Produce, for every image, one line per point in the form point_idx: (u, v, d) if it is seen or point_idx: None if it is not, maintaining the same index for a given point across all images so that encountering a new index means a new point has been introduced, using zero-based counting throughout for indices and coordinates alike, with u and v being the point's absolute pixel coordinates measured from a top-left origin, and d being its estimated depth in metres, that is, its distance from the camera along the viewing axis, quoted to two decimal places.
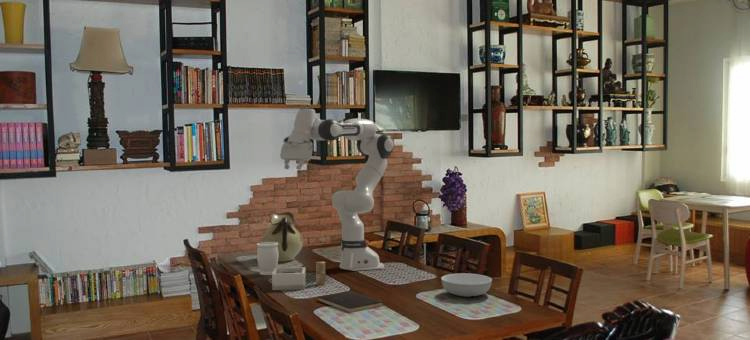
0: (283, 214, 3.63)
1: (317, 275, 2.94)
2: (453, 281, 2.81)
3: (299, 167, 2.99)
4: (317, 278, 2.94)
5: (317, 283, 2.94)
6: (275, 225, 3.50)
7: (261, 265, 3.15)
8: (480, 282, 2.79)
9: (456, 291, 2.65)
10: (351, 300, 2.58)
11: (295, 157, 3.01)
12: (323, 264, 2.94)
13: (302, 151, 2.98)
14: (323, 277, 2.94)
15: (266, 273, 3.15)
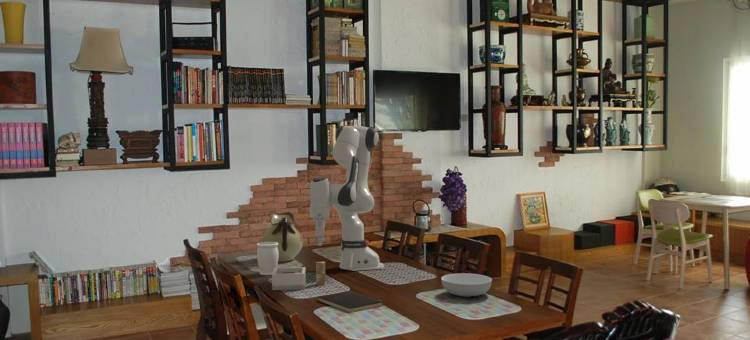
0: (283, 214, 3.63)
1: (317, 275, 2.94)
2: (453, 281, 2.81)
3: (319, 243, 2.89)
4: (317, 278, 2.94)
5: (317, 283, 2.94)
6: (275, 225, 3.50)
7: (261, 265, 3.15)
8: (480, 282, 2.79)
9: (456, 291, 2.65)
10: (351, 300, 2.58)
11: None
12: (323, 264, 2.94)
13: None
14: (323, 277, 2.94)
15: (266, 273, 3.15)
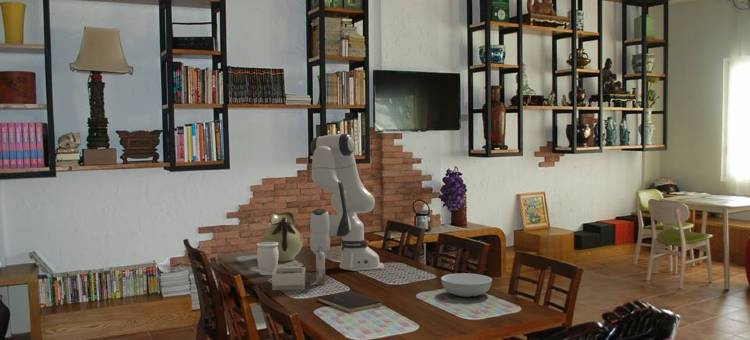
0: (283, 214, 3.63)
1: (317, 275, 2.94)
2: (453, 281, 2.81)
3: (320, 275, 2.93)
4: (317, 278, 2.94)
5: (317, 283, 2.94)
6: (275, 225, 3.50)
7: (261, 265, 3.15)
8: (480, 282, 2.79)
9: (456, 291, 2.65)
10: (351, 300, 2.58)
11: None
12: None
13: None
14: (323, 277, 2.94)
15: (266, 273, 3.15)
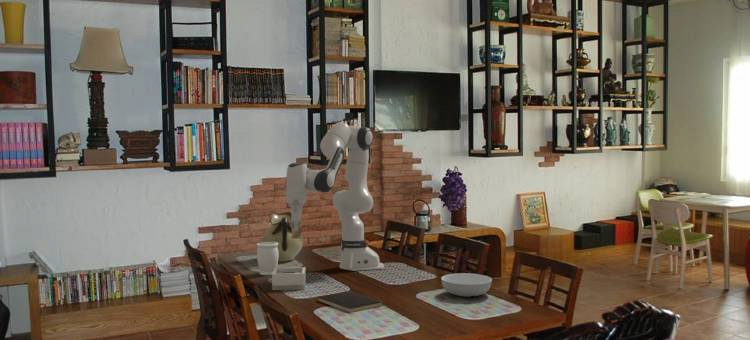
0: (283, 214, 3.63)
1: (293, 228, 2.90)
2: (453, 281, 2.81)
3: (295, 228, 2.89)
4: (293, 232, 2.90)
5: (292, 237, 2.90)
6: (275, 225, 3.50)
7: (261, 265, 3.15)
8: (480, 282, 2.79)
9: (456, 291, 2.65)
10: (351, 300, 2.58)
11: None
12: None
13: None
14: (299, 231, 2.90)
15: (266, 273, 3.15)
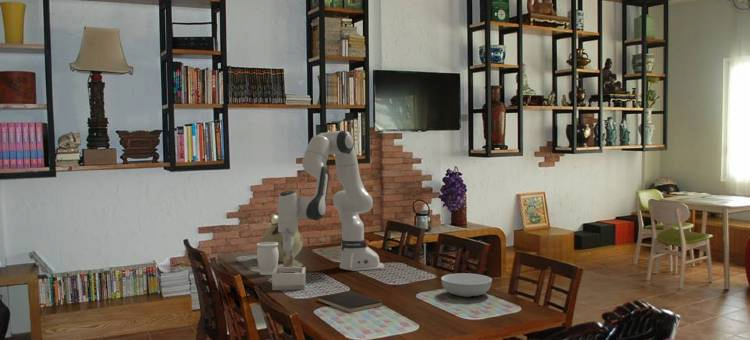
0: None
1: (284, 257, 2.90)
2: (453, 281, 2.81)
3: (287, 257, 2.89)
4: (284, 260, 2.91)
5: (284, 265, 2.91)
6: (275, 225, 3.50)
7: (261, 265, 3.15)
8: (480, 282, 2.79)
9: (456, 291, 2.65)
10: (351, 300, 2.58)
11: None
12: None
13: None
14: (290, 259, 2.91)
15: (266, 273, 3.15)
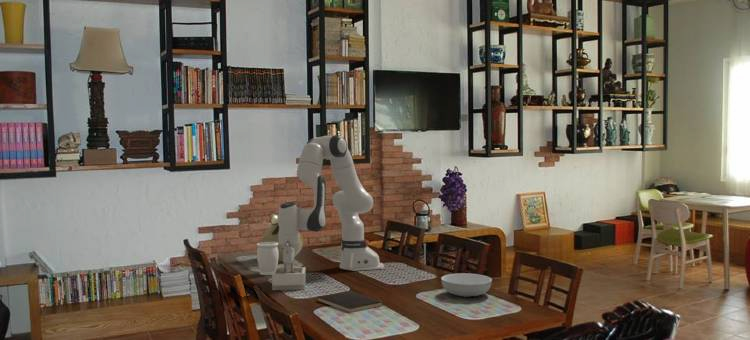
0: None
1: (285, 272, 2.91)
2: (453, 281, 2.81)
3: (287, 270, 2.87)
4: None
5: None
6: (275, 225, 3.50)
7: (261, 265, 3.15)
8: (480, 282, 2.79)
9: (456, 291, 2.65)
10: (351, 300, 2.58)
11: None
12: None
13: None
14: None
15: (266, 273, 3.15)
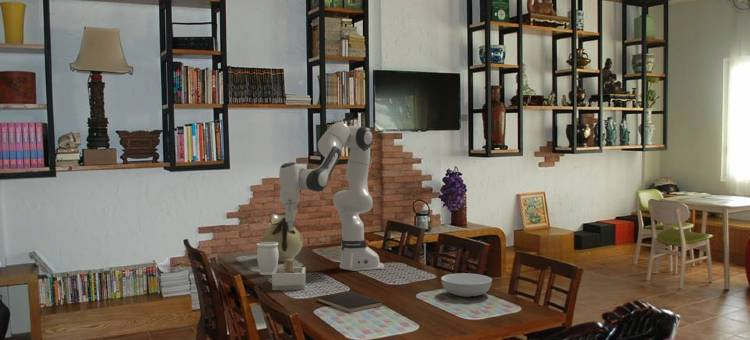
0: (283, 214, 3.63)
1: (285, 272, 2.91)
2: (453, 281, 2.81)
3: (290, 229, 2.90)
4: None
5: None
6: (275, 225, 3.50)
7: (261, 265, 3.15)
8: (480, 282, 2.79)
9: (456, 291, 2.65)
10: (351, 300, 2.58)
11: None
12: (291, 261, 2.91)
13: None
14: None
15: (266, 273, 3.15)
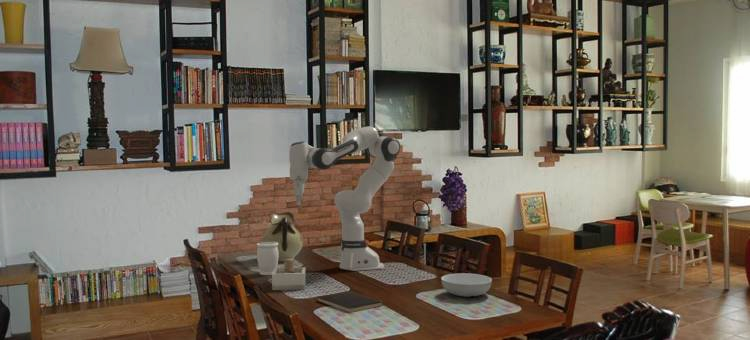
0: (283, 214, 3.63)
1: (285, 272, 2.91)
2: (453, 281, 2.81)
3: (298, 203, 3.09)
4: None
5: None
6: (275, 225, 3.50)
7: (261, 265, 3.15)
8: (480, 282, 2.79)
9: (456, 291, 2.65)
10: (351, 300, 2.58)
11: None
12: (291, 261, 2.91)
13: None
14: None
15: (266, 273, 3.15)
